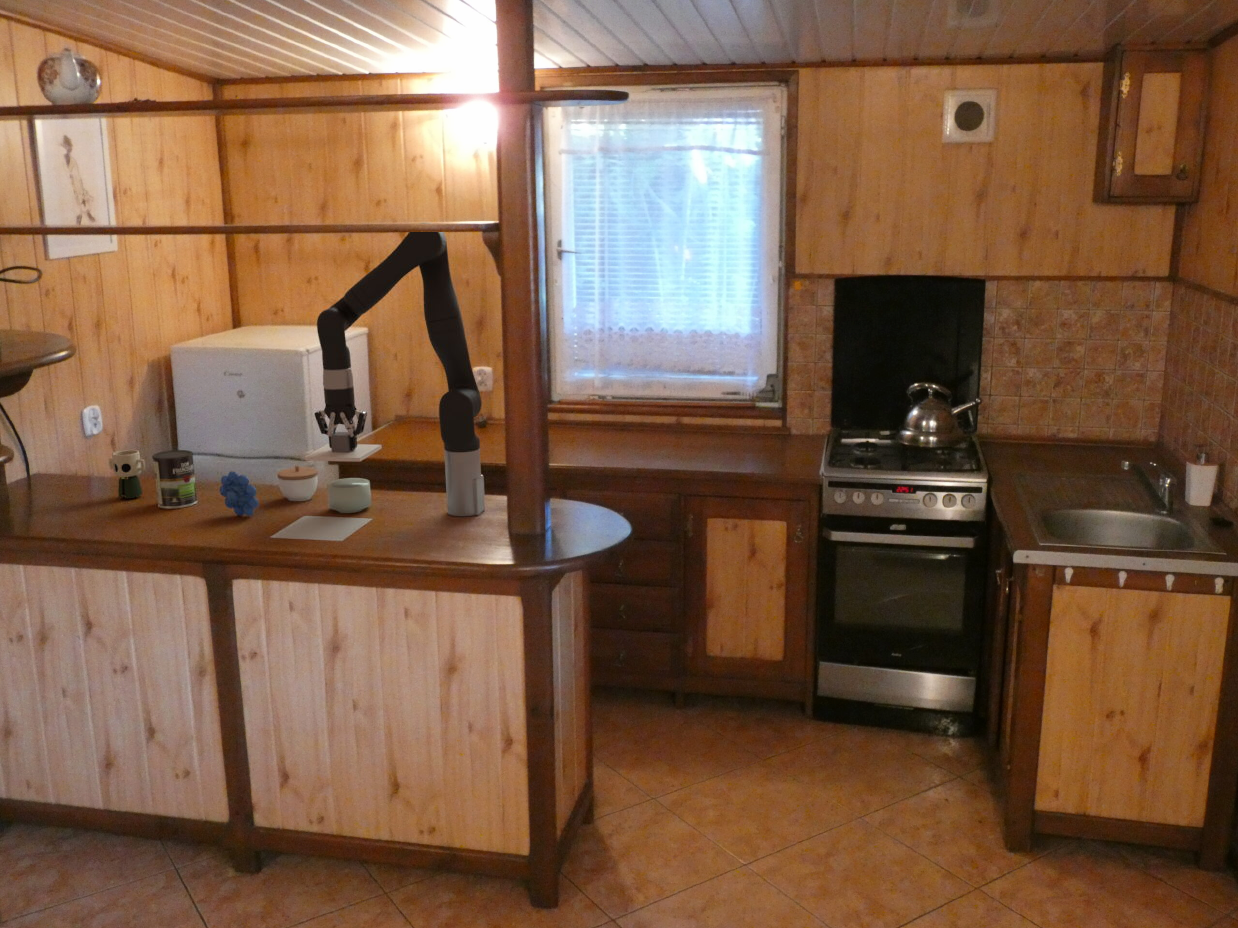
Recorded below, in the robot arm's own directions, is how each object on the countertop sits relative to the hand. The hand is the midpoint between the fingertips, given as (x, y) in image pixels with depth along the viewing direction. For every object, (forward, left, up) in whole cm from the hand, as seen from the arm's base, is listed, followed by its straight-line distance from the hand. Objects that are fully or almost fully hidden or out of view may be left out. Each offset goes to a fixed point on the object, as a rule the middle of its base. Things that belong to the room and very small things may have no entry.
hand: (343, 449), depth 293 cm
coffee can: (+50, -1, -17) cm, 53 cm away
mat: (0, +15, -17) cm, 23 cm away
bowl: (0, -2, -17) cm, 17 cm away
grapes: (+27, +8, -17) cm, 33 cm away
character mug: (+67, -5, -17) cm, 70 cm away
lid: (0, 0, -1) cm, 1 cm away
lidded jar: (+19, -11, -17) cm, 28 cm away
